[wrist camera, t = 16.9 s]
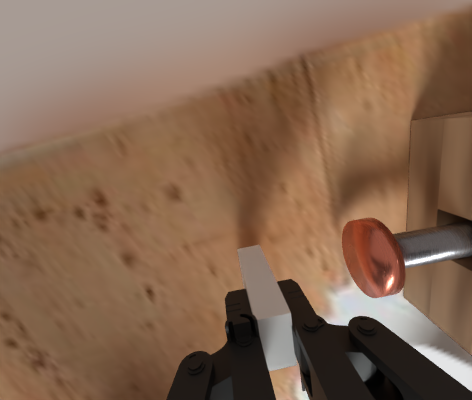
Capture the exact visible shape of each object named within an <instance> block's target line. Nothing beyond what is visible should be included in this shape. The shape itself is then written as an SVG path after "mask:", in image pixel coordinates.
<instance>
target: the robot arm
mask: <svg viewBox="0 0 472 400" xmlns="http://www.w3.org/2000/svg"><path fill="white" fill-rule="evenodd" d="M237 251H238V257H239V263H240V269H241V275H242V281H243V286H244V289H241V290H236V291H231V292H228V294H227V296H226V298H225V304H226V314H227V321H226V323H225V329H226V334H227V342H226V344H225V345H224V347H223V348H222V349H220V350H219V351H217V352H216V353H214V354H212V355H209V354H208V353H207V352H203V351H197V352H193V353H191V354H189V355H188V356H186V357H185V358H184V359H183V360H182V362H181V364H180V365H179V368H178V370H177V373H176V376H175V378H174V381H173V384H172V386H171V389H170V392H169V394H168V397H167V399H166V400H276V398H275V394H274V390H273V386H272V382H271V378H270V374H269V371H273V370H278V369H282V368H287V367H291V366H296V365H297V362H296V358H297V361H298V363H299V366H300V374H301V383H302V390H303V391H305V389H306V391H307V394H308V397H309V399H310V400H472V392H471V391H470V390H468V389H467V388H466V387H465V386H463V385H462V384H461V383H459V382H458V381H457V380H455V379H454V378H452V377H451V376H450V375H449V374H447V373H446V372H445V371H443V370H442V369H441V368H439V367H438V366H437V365H435V364H434V363H433V362H432V361H430V360H429V359H428V358H426V357H425V356H424V355H422V354H421V353H420V352H418V351H417V350H416V349H414V348H413V347H412V346H410V345H409V344H408V343H406V342H405V341H404V340H402V339H401V338H400V337H399V336H397V335H396V334H395V333H393V332H392V331H391V330H389V329H388V328H387V327H385V326H384V325H383V324H381V323H380V322H379V321H377V320H375V319H373V318H370V317H367V316H358V317H354V318H352V319H351V320H350V321H349V324H348V326H339V325H332V324H328V323H327V322H326V321H325V320H324V319H323V318H321V317H320V316H318V315H316V313H315V311H314V310H313V308H312V306H311V305H310V303H309V301H308V300H307V298H306V296H305V295H304V293H303V291H302V290H301V288H300V286H299V285H298V283H296V282H295V281H293V280H292V279H288V280H283V281H278V282H276V279H275V277H274V275H273V273H272V271H271V268H270V266H269V264H268V262H267V260H266V258H265V255H264V253H263V251H262V249H261V247H260V245H255V246H250V247H245V248H240V249H237Z"/></svg>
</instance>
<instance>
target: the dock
mask: <svg viewBox="0 0 472 400" xmlns="http://www.w3.org/2000/svg"><path fill="white" fill-rule="evenodd" d="M468 220H472V111H469V112H463V113H456V114H450V115H444V116H437V117H431V118H425V119H418V120H412V121H411V137H410V161H409V184H408V208H407V231H406V232H408V231H413V230H419V229H424V228H430V227H435V226H441V225H446V224H452V223H457V222H463V221H468ZM405 273H406V276H405V283H404V298H405V299H406V300H408V301H409V302H410V303H411V304H412V305H413V306H415V307H416V308H417V309H418V310H419V311H420V312H422V313H423V314H424V315H425V316H426V317H427V318H429V319H430V320H431V321H432V322H433V323H434V324H436V325H437V326H438V327H439V328H440V329H441V330H443V331H444V332H445V333H446V334H447V335H448V336H449V337H451V338H452V339H453V340H454V341H455V342H456V343H458V344H459V345H460V346H461V347H462V348H463V349H465V350H466V351H467V352H468V353H469V354H470V355H472V256H469V257H463V258H458V259H453V260H447V261H442V262H437V263H432V264H426V265H421V266H416V267H411V268H405Z"/></svg>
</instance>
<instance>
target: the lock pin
mask: <svg viewBox="0 0 472 400" xmlns="http://www.w3.org/2000/svg"><path fill="white" fill-rule="evenodd" d="M342 248H343V254H344V258H345V261H346V264H347V267H348V270H349V272H350V274H351V276H352V278H353V280H354V281H355V283H356V284H357V286H358V287H359V288H360V289H361V290H362V291H363V292H364V293H365V294H366V295H367V296H369V297H372V298H379V297H384V296H389V295H394V294H397V293H399V292H400V291H401V290H402V288H403V286H404V283H405V276H406V273H405V268H411V267H416V266H421V265H426V264H432V263H437V262H442V261H447V260H453V259H458V258H463V257H469V256H472V220H468V221H463V222H457V223H452V224H446V225H441V226H435V227H430V228H424V229H419V230H413V231H408V232H402V233H397V234H392V233H391V231H390V230H389V229H388V228H387V227H386V226H385V225H384V224H383V223H382V222H380V221H379V220H377V219H374V218H364V219H359V220H353V221H349V222H348V223H347V224H346V225H345V227H344V229H343V234H342Z"/></svg>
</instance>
